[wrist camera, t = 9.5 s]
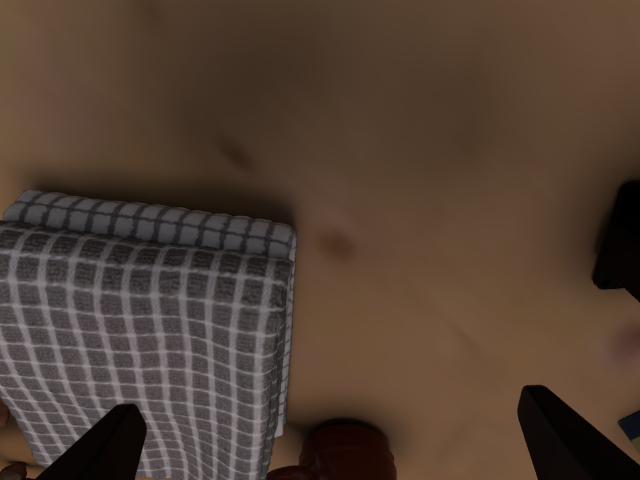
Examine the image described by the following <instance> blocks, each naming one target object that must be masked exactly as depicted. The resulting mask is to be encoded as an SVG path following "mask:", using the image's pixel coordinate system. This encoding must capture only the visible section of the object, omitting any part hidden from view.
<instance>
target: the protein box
mask: <svg viewBox="0 0 640 480" xmlns="http://www.w3.org/2000/svg"><path fill="white" fill-rule="evenodd" d="M619 426H620V427H621V428H622V430H623V431H624V433H625V434H626V435H627V437H628V438H629V440H630V441H631V443H632V444H633V445H634V447H635V448H636V449H637V451H638V452H639V454H640V411H639V412H637V413H635V414H633V415H631V416H629V417H626V418H624V419H622V420H621V421H620V422H619Z"/></svg>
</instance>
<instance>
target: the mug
mask: <svg viewBox="0 0 640 480" xmlns="http://www.w3.org/2000/svg"><path fill="white" fill-rule="evenodd" d="M266 480H397V471H396V467H395V465H394V457H393V455H392V453H391V452H390V449H389V445H388V443H387V442H386V440H385V439H384V438H383V437H382V436H381V435H380V434H379V433H377V432H376V431H374V430H372V429H370V428H368V427H365V426H363V425H359V424H353V423H338V424H332V425H328V426H325V427H322V428H321V429H319V430H317V431H315V432H314V433H313V434H311V435H310V436H309V437H308V438H307V439H306V441H305V443H304V444H303V446H302V451H301V454H300V456H299V464H298V466H297V465H294V466H287V467H282V468H278V469H275V470H272V471H270V472H268V473H267V475H266Z"/></svg>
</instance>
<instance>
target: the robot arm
mask: <svg viewBox="0 0 640 480" xmlns="http://www.w3.org/2000/svg"><path fill="white" fill-rule="evenodd" d="M634 189H635V191H634V192H633V193H632V194H630V193H631V191H632V190H634ZM605 279H606V280H605ZM603 280H605V281H603ZM602 281H603V282H602ZM593 283H594V284H595V285H596V286H597V287H598V288H599V289H603V290H605V289H620V288H625V289H626V290H627V291H628V292H629V293H630V294H631V295H632V296H633V297H635V298H636V299H637V300H638V301H639V302H640V180H639V181H631V182H628V183H626V184H624V185H623V186H622V187H621V189H620V191H619V194H618V198H617V201H616V204H615V208H614V211H613V214H612V218H611V221H610V224H609V226H608V229H607V233H606V236H605V239H604V243H603V246H602V249H601V252H600V256H599V259H598V264H597V267H596V271H595V274H594V277H593ZM517 413H518V419H519V422H520V425H521V428H522V432H523V435H524V438H525V441H526V444H527V447H528V450H529V453H530V456H531V459H532V463H533V466H534V469H535V472H536V475H537V478H538V480H640V465H639V464H638V463H636V462H635V461H634V460H633V459H632V458H630V457H629V456H628V455H627V454H626V453H624V452H623V451H622V450H621V449H620V448H618V447H617V446H616V445H615V444H614V443H612V442H611V441H610V440H609V439H608V438H606V437H605V436H604V435H603V434H602V433H601V432H599V431H598V430H597V429H596V428H595V427H593V426H592V425H591V424H590V423H589V422H587V421H586V420H585V419H584V418H583V417H581V416H580V415H579V414H578V413H577V412H575V411H574V410H573V409H572V408H571V407H569V406H568V405H567V404H566V403H565V402H564V401H562V400H561V399H560V398H559V397H558V396H556V395H555V394H554V393H553V392H552V391H550V390H549V389H548V388H547V387H545V386H543V385H526V386H524V387H523V388H522V391H521V396H520V400H519V404H518V409H517ZM146 434H147V425H146V422H145V420H144V418H143V416H142V414H141V412H140V410H139V408H138V406H137V405H136V404H134V403H122V404H118V405H116V406H114V407H113V408H112V409H111V410H110V411H109V412H108V413H107V414H106V415H104V416H103V417H102V418H101V419H100V420H99V421H98V422H97V423H96V424H95V425H93V426H92V427H91V428H90V429H89V430H88V431H87V432H86V433H85V434H84V435H82V436H81V437H80V438H79V439H78V440H77V441H76V442H75V443H74V444H73V445H72V446H70V447H69V448H68V449H67V450H66V451H65V452H64V453H63V454H62V455H61V456H59V457H58V458H57V459H56V460H55V461H54V462H53V463H52V464H51V465H50V466H49V467H47V468H46V469H45V470H44V471H43V472H42V473H41V474H40V475H39V476H38V477H36V478H35V479H34V480H135V477H136V473H137V469H138V466H139V462H140V458H141V454H142V450H143V446H144V442H145V438H146Z"/></svg>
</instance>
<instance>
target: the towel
mask: <svg viewBox="0 0 640 480" xmlns="http://www.w3.org/2000/svg"><path fill="white" fill-rule="evenodd" d="M296 247H297V233H296V229H294V228H293V227H292V226H289V225H287V224H283V223H273V222H272V221H270V220H264V219H252V218H249V217H247V216H231V215H228V214H223V213H222V214H218V213H216V214H212V213H209V212H203V211H198V210H196V211H191V210H189V209H186V208H182V207H173V208H171V207H169V206H164V205H157V204H154V205H149V204H145V203H139V202H132V203H127V202H122V201H106V200H100V199H89V198H85V197H80V196H70V195H66V194H64V193H58V192H46V191H42V190H38V189H31V190H25V191H23V193H21V196H20V197H19V198H17V199H16V201H15V203H13V204H11V205H10V206H9V207H8V208H7V209H6V210H5V211H4V213H3V221H2V220H0V398H1V399H2V401H3V402H4V403H5V404H6V405H7V406H9V407H8V409H9V410H10V412H11V414H12V415H13V416H14V417H15V418H16V422H17V423H18V427H19V428H20V429H21V430H22V434H23V435H24V437H25V440H27V443H28V447H29V448H30V449H31V450H32V456H33V459H34V460H35V461H37V463H38V464H39V465H41V466H43V467H46V468H47V467H49V466H50V465H51V464H52V463H53V462H54V461H55V460H56V459H57V458H58V457H59V456H61V455H62V454H63V453H64V452H65V451H66V450H67V449H68V448H69V447H70V446H72V445H73V444H74V443H75V442H76V441H77V440H78V439H79V438H80V437H81V436H82V435H84V434H85V433H86V432H87V431H88V430H89V429H90V428H91V427H92V426H93V425H95V424H96V423H97V422H98V421H99V420H100V419H101V418H102V417H103V416H104V415H106V414H107V413H108V412H109V411H110V410H111V409H112V408H113V407H114V406H116V405H118V404H122V403H134V404H136V405H137V406H138V408H139V410H140V412H141V414H142V416H143V418H144V420H145V422H146V425H147V434H146V438H145V442H144V446H143V450H142V454H141V458H140V462H139V466H138V469H137V473H136V477H135V478H147V477H153V478H155V479H163V478H172V479H174V480H266V475H267V471H268V468H269V466H270V459H271V456H272V452H273V451H272V447H273V444H274V440H275V437H278V436H281V435H283V434H284V424H285V423H286V421H287V419H286V413H287V403H286V400H287V392H288V385H289V384H288V381H289V368H290V359H291V356H290V351H291V339H292V327H293V326H292V318H293V307H294V277H295V268H296V256H295V254H296Z"/></svg>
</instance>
